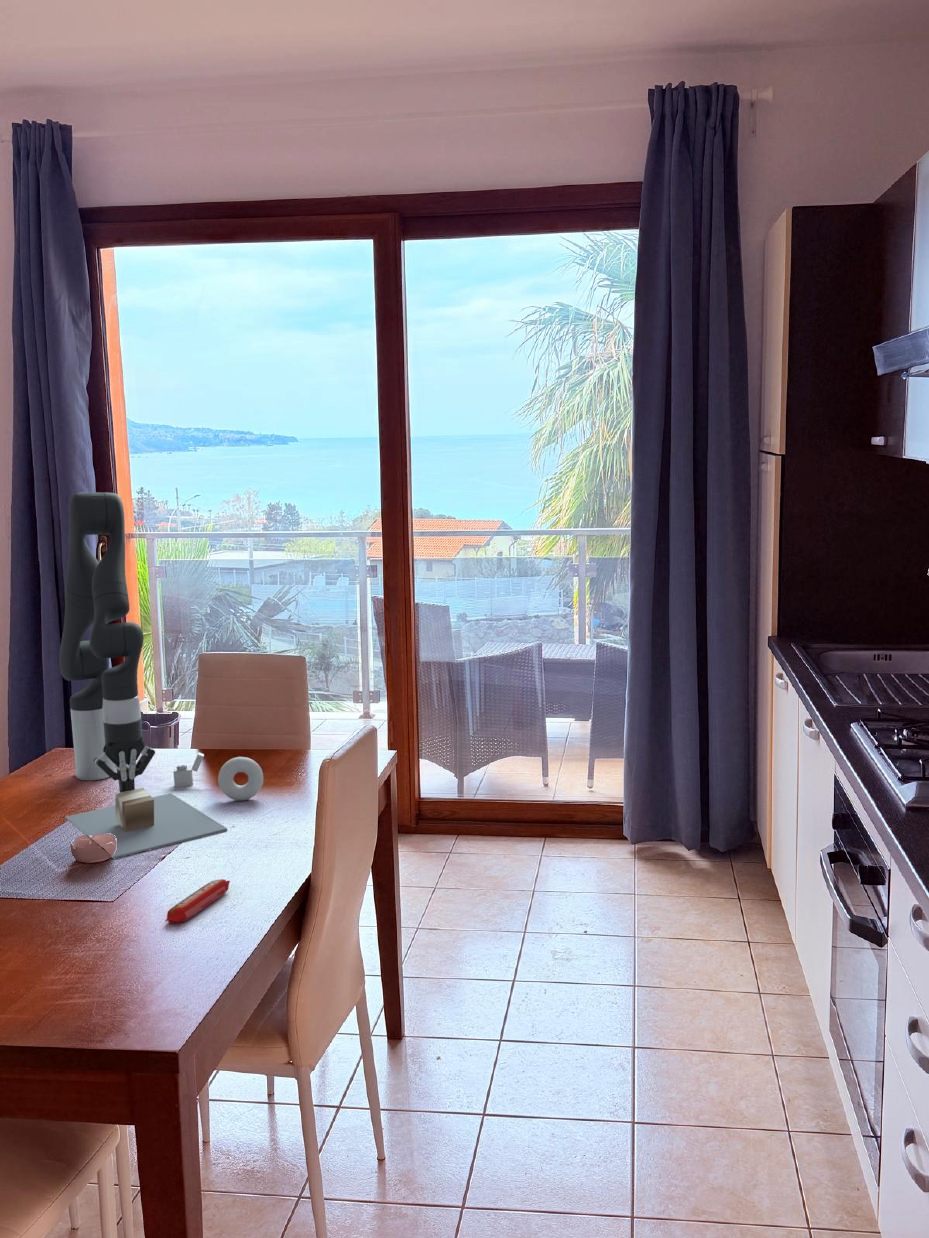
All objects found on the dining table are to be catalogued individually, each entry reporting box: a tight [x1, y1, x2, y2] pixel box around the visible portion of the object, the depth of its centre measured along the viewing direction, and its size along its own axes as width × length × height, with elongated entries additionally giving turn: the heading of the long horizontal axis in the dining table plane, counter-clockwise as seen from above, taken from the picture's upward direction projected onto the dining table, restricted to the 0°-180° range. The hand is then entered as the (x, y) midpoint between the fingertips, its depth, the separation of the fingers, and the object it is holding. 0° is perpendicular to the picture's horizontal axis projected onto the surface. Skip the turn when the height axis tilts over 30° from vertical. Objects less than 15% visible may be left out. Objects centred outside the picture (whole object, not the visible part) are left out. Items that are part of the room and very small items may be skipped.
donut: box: [217, 756, 264, 802], centre depth 247 cm, size 10×3×10 cm, turn 97°
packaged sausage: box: [164, 878, 231, 924], centre depth 191 cm, size 16×4×3 cm, turn 159°
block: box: [114, 787, 154, 832], centre depth 231 cm, size 6×6×6 cm
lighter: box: [172, 752, 205, 788], centre depth 258 cm, size 7×2×8 cm, turn 100°
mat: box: [64, 792, 228, 860], centre depth 233 cm, size 30×24×1 cm
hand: (127, 795), depth 234 cm, fingers closed
